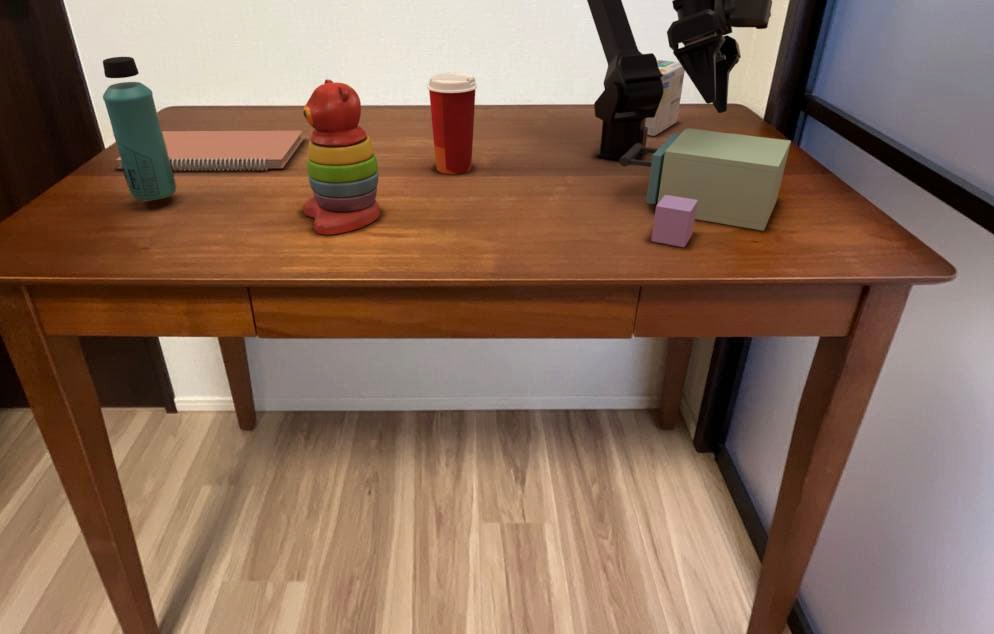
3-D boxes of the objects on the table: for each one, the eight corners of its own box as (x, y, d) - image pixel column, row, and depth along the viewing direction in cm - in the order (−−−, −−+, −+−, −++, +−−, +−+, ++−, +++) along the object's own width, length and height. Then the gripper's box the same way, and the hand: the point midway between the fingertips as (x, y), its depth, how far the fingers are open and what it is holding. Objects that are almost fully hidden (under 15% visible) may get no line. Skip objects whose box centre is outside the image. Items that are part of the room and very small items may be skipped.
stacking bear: (300, 209, 101) (281, 78, 92) (368, 197, 105) (357, 70, 95) (318, 237, 93) (300, 97, 83) (392, 224, 96) (382, 87, 87)
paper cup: (485, 164, 116) (485, 74, 109) (465, 179, 111) (464, 85, 103) (442, 158, 119) (439, 70, 112) (420, 172, 113) (416, 80, 106)
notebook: (115, 172, 116) (111, 160, 115) (155, 140, 130) (153, 129, 129) (281, 172, 115) (279, 159, 114) (304, 140, 129) (302, 129, 128)
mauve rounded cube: (651, 241, 91) (656, 205, 88) (659, 229, 94) (665, 194, 91) (684, 247, 89) (690, 211, 86) (692, 235, 92) (698, 199, 89)
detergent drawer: (611, 197, 101) (617, 149, 97) (633, 174, 109) (638, 129, 105) (743, 219, 94) (754, 168, 90) (756, 193, 102) (767, 145, 98)
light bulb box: (644, 117, 138) (652, 58, 132) (678, 122, 134) (687, 62, 128) (620, 131, 131) (627, 69, 125) (655, 137, 127) (664, 73, 121)
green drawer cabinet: (656, 212, 98) (665, 150, 94) (677, 185, 107) (686, 127, 102) (763, 231, 93) (778, 166, 88) (776, 201, 101) (791, 140, 97)
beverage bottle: (189, 197, 106) (155, 53, 95) (159, 213, 101) (120, 64, 90) (153, 192, 108) (116, 51, 97) (122, 208, 103) (79, 61, 92)
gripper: (751, -61, 82) (775, 75, 83) (768, -15, 98) (788, 98, 100) (656, -22, 88) (679, 105, 89) (687, 15, 104) (706, 122, 105)
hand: (717, 107), depth 95 cm, fingers open, 9 cm apart
